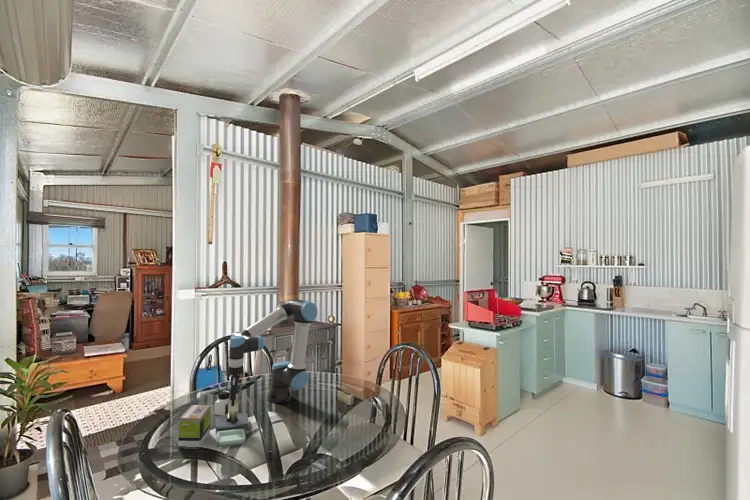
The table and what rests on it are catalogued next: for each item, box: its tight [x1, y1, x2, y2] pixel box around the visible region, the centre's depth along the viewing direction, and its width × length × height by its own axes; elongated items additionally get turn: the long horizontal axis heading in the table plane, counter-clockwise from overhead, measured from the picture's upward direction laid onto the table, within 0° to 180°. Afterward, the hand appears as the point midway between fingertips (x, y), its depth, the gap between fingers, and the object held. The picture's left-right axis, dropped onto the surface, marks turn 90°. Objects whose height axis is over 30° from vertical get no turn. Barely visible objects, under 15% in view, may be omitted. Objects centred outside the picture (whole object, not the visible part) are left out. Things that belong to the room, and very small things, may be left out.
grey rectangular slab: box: [215, 412, 250, 435], centre depth 201 cm, size 16×13×4 cm
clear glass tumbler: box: [227, 397, 240, 421], centre depth 201 cm, size 5×5×10 cm
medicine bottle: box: [213, 390, 231, 416], centre depth 217 cm, size 7×7×12 cm
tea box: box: [177, 404, 212, 448], centre depth 185 cm, size 15×10×15 cm, turn 5°
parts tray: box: [216, 428, 246, 448], centre depth 188 cm, size 13×11×2 cm
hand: (233, 408), depth 201 cm, fingers closed on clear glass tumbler, 5 cm apart
